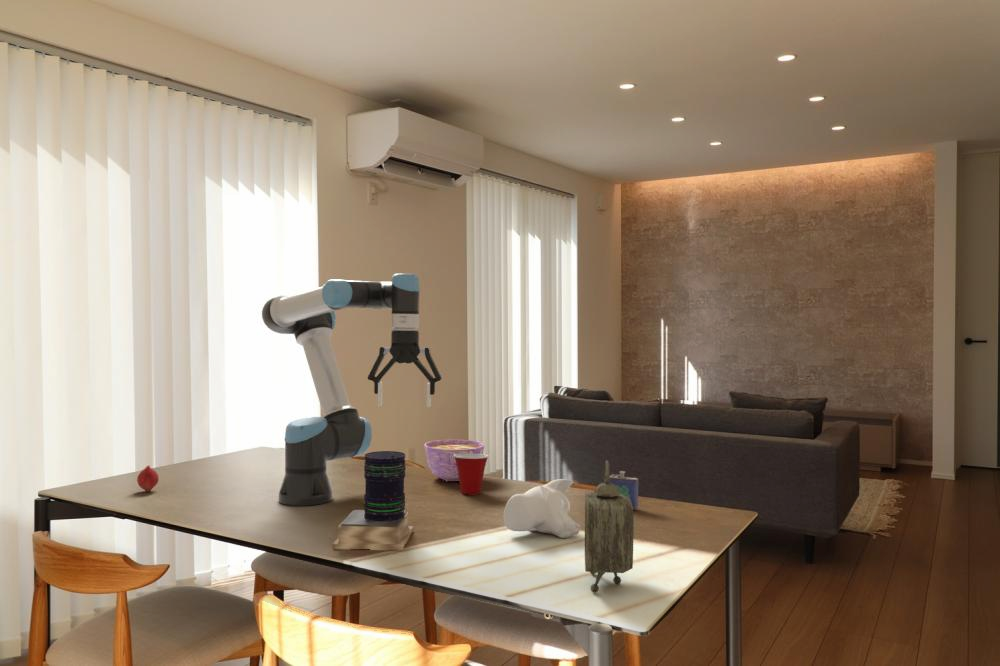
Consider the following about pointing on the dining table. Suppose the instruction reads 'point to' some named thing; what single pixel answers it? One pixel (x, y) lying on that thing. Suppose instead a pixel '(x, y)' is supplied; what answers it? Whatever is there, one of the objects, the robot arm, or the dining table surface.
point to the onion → (147, 478)
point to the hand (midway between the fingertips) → (404, 406)
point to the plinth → (372, 533)
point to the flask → (626, 487)
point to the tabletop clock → (608, 531)
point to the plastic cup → (470, 472)
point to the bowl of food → (449, 456)
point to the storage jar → (384, 486)
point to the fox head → (542, 510)
